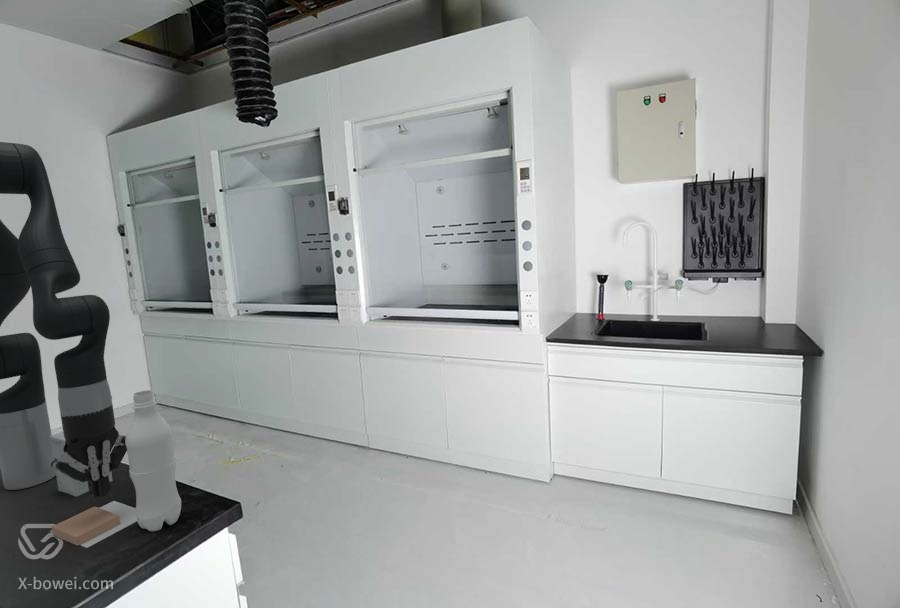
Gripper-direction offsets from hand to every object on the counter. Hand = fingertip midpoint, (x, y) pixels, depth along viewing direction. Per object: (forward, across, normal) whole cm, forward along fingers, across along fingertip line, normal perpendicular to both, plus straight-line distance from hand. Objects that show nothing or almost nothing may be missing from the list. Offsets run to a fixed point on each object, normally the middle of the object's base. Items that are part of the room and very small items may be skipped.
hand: (100, 496), depth 89 cm
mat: (+5, 0, 0) cm, 5 cm away
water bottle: (+6, -4, +10) cm, 13 cm away
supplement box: (+6, -6, -19) cm, 21 cm away
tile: (+4, -1, 0) cm, 4 cm away
